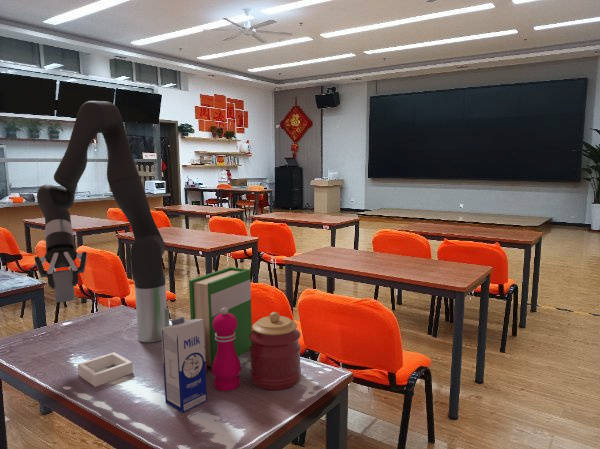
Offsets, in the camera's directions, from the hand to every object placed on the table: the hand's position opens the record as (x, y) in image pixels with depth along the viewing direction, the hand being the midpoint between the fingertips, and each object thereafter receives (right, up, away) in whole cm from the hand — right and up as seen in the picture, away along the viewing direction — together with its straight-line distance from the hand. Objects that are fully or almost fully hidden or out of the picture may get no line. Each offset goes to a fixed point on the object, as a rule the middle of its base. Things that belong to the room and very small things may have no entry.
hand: (63, 285), depth 128 cm
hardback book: (+45, -21, +3) cm, 49 cm away
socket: (+15, -22, -8) cm, 28 cm away
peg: (0, -4, +1) cm, 4 cm away
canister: (+60, -22, -12) cm, 65 cm away
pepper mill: (+48, -23, -15) cm, 55 cm away
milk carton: (+40, -24, -22) cm, 52 cm away
